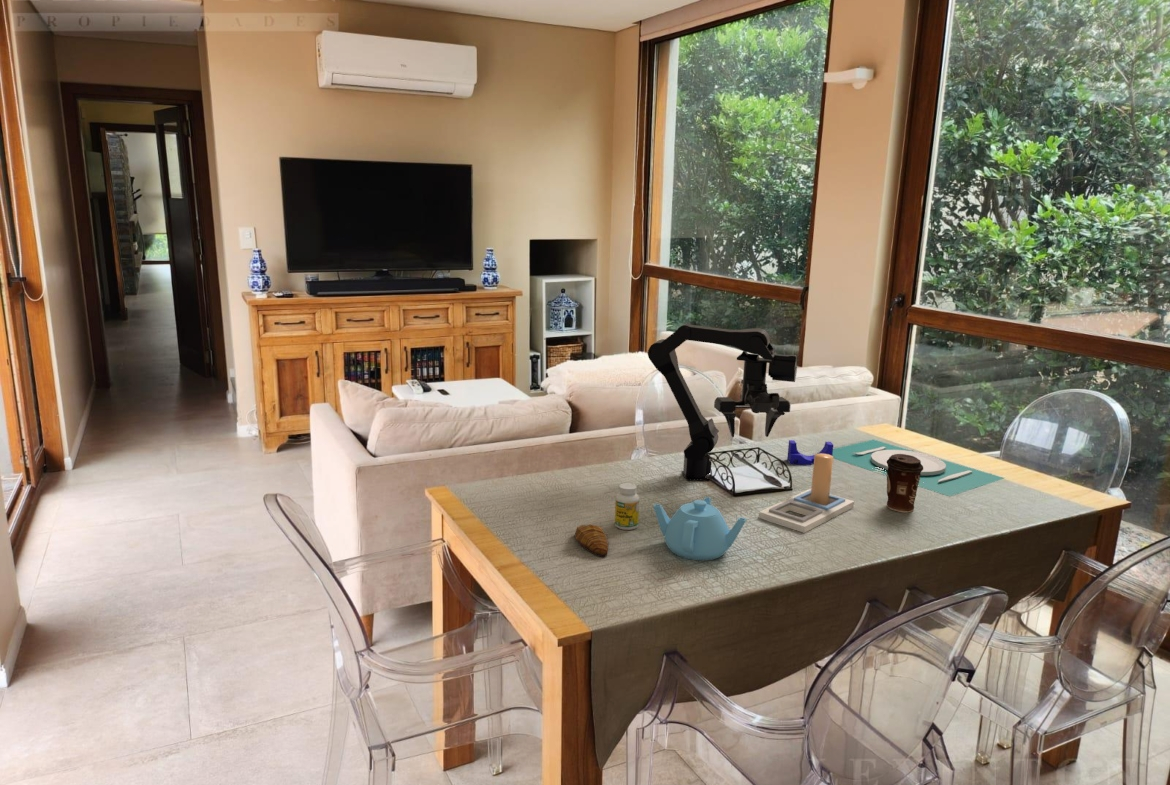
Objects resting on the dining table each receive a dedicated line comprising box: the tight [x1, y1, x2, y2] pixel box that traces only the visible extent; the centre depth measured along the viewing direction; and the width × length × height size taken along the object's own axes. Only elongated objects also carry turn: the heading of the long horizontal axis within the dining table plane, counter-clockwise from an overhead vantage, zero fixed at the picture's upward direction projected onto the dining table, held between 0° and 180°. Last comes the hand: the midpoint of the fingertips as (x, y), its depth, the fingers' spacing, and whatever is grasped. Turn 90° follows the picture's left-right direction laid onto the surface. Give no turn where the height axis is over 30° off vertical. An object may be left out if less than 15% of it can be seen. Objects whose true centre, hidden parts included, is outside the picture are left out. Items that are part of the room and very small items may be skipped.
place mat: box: [832, 439, 1005, 498], centre depth 235 cm, size 45×30×2 cm
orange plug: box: [810, 452, 834, 506], centre depth 199 cm, size 4×4×13 cm
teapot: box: [652, 496, 748, 561], centre depth 173 cm, size 15×15×11 cm
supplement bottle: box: [614, 482, 640, 531], centre depth 184 cm, size 5×5×10 cm
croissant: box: [574, 524, 609, 557], centre depth 174 cm, size 14×7×5 cm, turn 23°
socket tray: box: [758, 488, 855, 534], centre depth 197 cm, size 24×12×2 cm, turn 136°
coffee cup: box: [886, 454, 923, 514], centre depth 200 cm, size 9×8×13 cm
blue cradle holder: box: [786, 439, 834, 466], centre depth 234 cm, size 12×4×6 cm, turn 88°
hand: (749, 436), depth 212 cm, fingers open, 9 cm apart
